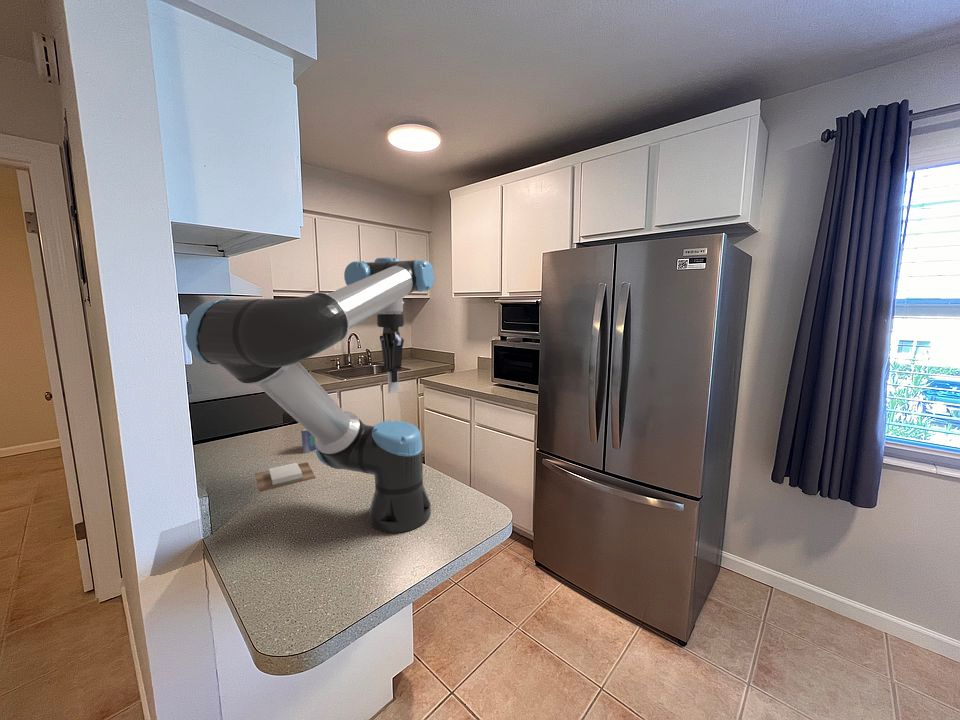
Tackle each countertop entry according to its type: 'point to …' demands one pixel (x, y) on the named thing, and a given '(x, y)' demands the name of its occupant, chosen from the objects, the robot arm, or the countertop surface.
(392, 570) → the countertop surface
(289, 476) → the tile
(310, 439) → the flask
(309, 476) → the board
